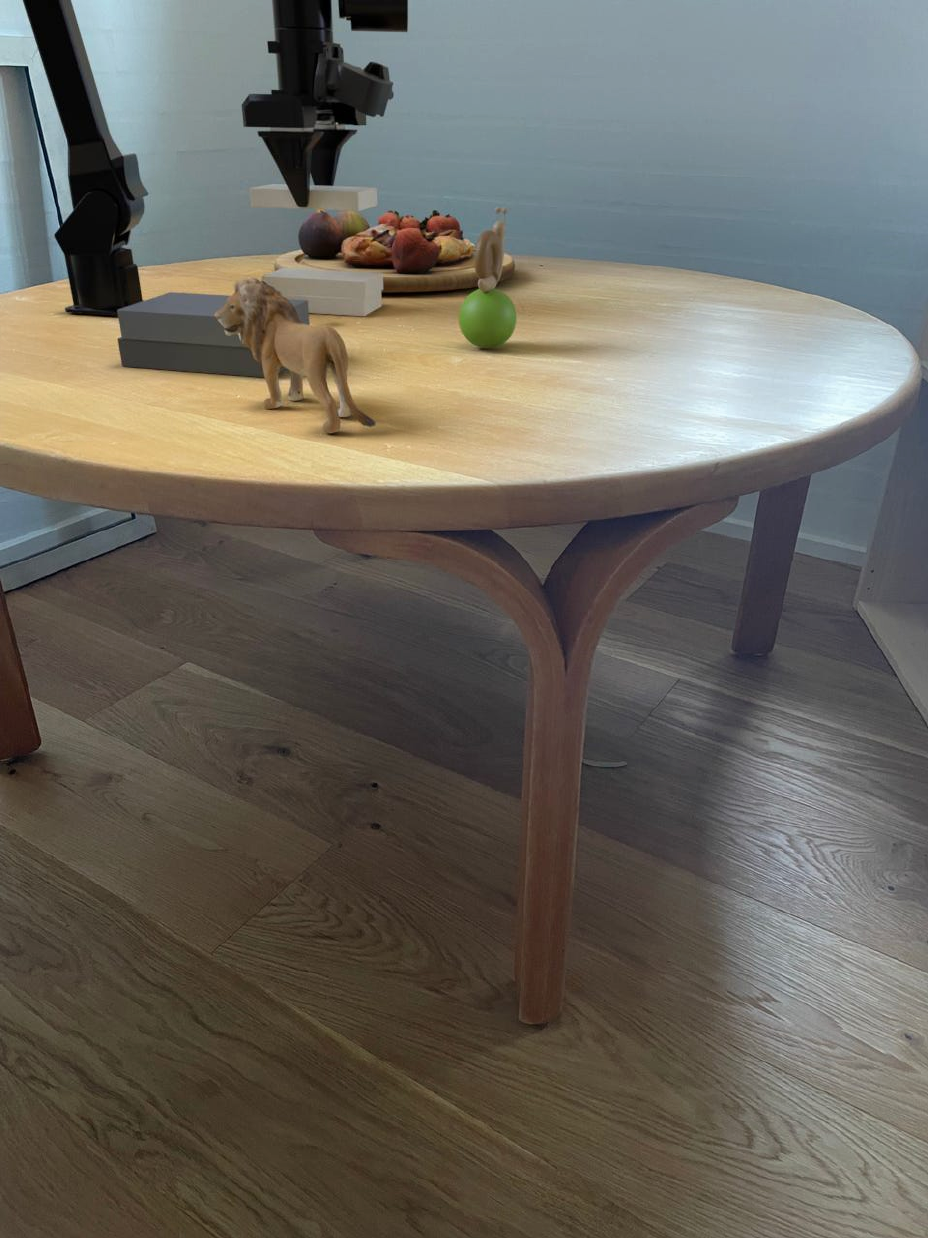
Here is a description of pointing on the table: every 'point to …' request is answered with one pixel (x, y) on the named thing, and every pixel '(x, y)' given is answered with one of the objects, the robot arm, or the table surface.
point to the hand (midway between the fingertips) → (314, 204)
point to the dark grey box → (187, 336)
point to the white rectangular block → (315, 197)
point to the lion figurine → (290, 348)
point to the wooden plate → (390, 250)
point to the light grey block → (330, 289)
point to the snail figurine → (488, 293)
